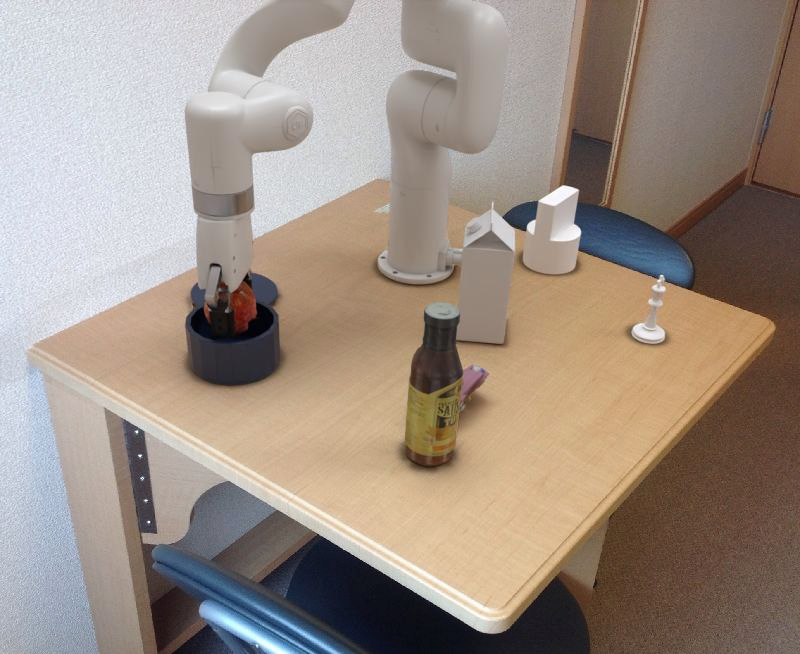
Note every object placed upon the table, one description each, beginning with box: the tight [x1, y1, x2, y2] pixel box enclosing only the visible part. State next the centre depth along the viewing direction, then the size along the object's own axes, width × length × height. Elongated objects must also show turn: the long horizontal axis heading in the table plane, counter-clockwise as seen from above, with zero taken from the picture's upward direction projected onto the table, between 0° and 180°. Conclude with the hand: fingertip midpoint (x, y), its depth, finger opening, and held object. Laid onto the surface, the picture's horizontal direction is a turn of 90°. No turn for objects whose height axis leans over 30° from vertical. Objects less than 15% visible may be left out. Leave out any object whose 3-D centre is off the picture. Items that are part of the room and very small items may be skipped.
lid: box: [190, 272, 279, 307], centre depth 140 cm, size 13×13×7 cm
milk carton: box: [456, 201, 516, 345], centre depth 131 cm, size 7×7×19 cm
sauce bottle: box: [404, 301, 464, 467], centre depth 107 cm, size 6×6×20 cm
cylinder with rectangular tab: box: [522, 184, 582, 275], centre depth 153 cm, size 9×9×12 cm
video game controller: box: [459, 363, 490, 413], centre depth 119 cm, size 10×5×7 cm, turn 148°
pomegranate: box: [204, 281, 259, 335], centre depth 123 cm, size 7×7×10 cm
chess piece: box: [631, 274, 667, 345], centre depth 135 cm, size 5×5×10 cm
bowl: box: [184, 300, 281, 386], centre depth 126 cm, size 12×13×6 cm
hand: (232, 319), depth 124 cm, fingers closed on pomegranate, 7 cm apart
